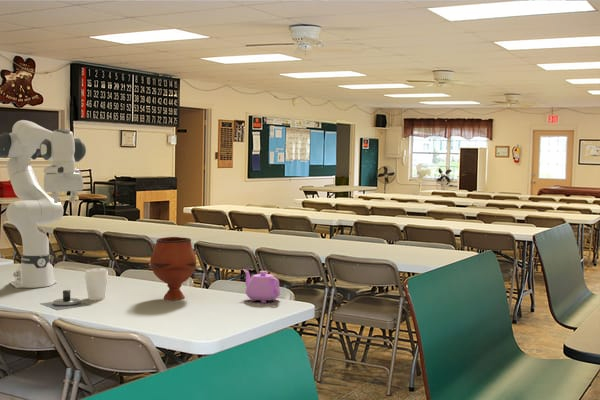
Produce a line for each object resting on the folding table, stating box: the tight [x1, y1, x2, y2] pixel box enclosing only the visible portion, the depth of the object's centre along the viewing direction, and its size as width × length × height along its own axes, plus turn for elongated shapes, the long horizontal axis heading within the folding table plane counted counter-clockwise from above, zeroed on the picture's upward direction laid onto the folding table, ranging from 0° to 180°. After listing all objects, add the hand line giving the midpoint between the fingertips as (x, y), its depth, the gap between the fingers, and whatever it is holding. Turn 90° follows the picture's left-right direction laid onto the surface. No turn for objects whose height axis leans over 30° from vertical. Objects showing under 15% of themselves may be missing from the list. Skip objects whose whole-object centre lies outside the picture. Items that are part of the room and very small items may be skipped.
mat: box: [39, 300, 91, 311], centre depth 277 cm, size 16×14×1 cm
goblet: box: [149, 236, 197, 301], centre depth 292 cm, size 19×19×25 cm
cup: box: [84, 268, 109, 301], centre depth 289 cm, size 9×9×12 cm
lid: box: [52, 289, 81, 306], centre depth 278 cm, size 10×10×5 cm
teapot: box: [242, 269, 281, 304], centre depth 290 cm, size 20×14×12 cm
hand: (64, 202), depth 288 cm, fingers open, 8 cm apart
